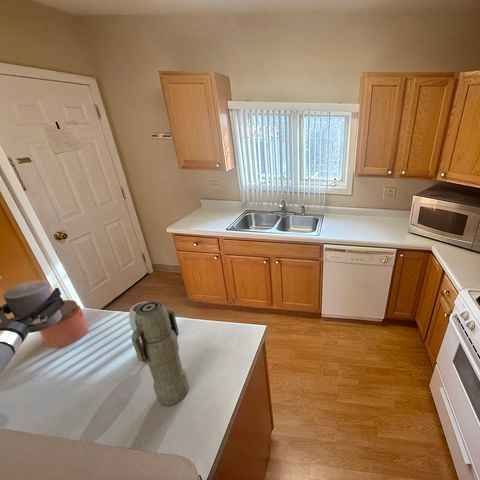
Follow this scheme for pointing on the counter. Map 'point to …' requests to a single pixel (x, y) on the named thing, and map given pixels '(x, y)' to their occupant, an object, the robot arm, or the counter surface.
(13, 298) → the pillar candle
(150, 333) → the thermos
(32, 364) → the counter surface
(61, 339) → the jar
